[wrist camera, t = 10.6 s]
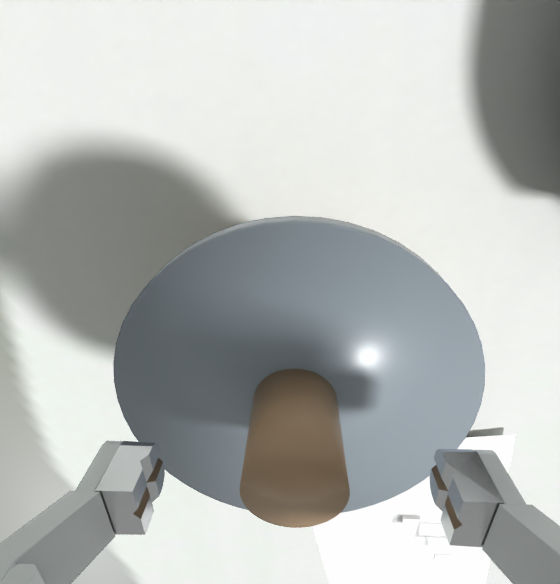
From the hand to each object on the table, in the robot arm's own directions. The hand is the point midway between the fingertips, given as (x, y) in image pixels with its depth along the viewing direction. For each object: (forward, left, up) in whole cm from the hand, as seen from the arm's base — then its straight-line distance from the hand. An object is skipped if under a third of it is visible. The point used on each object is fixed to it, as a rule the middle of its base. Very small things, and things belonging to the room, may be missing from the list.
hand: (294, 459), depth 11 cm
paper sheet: (+23, +3, -13) cm, 27 cm away
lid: (0, 0, -4) cm, 4 cm away
